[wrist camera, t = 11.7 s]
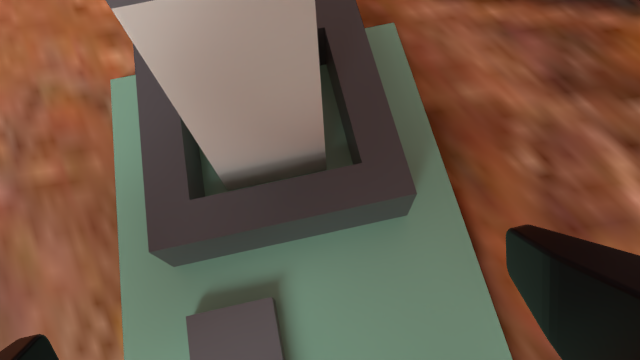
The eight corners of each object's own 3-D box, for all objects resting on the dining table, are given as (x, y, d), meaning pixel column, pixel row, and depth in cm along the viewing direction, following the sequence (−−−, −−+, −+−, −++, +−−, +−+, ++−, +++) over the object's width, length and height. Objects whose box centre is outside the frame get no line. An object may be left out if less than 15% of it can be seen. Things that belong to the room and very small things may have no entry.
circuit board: (532, 434, 15) (575, 449, 12) (140, 530, 15) (93, 568, 12) (392, 31, 21) (400, -19, 19) (116, 87, 21) (82, 44, 18)
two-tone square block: (326, 169, 18) (305, -132, 7) (227, 190, 18) (50, -86, 7) (306, 87, 20) (264, -269, 9) (215, 105, 20) (52, -233, 9)
